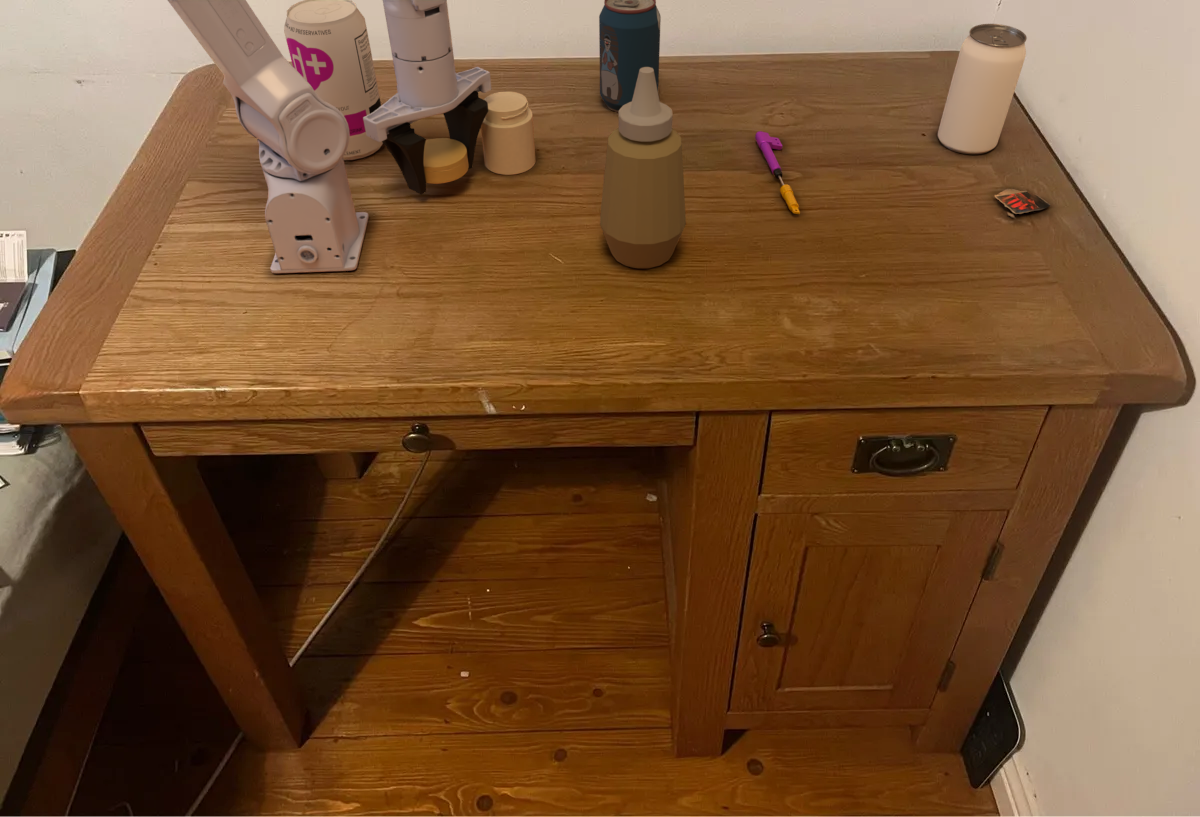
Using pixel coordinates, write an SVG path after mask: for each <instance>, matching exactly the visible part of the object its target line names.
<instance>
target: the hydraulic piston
mask: <svg viewBox="0 0 1200 817" xmlns="http://www.w3.org/2000/svg"><path fill="white" fill-rule="evenodd" d="M754 139H755V141H756V143H757V145H758V147H759V150H761V152H762V154H763V156H764V158H765V161H766V162H767V165H768V167H769V169H770V171H771V173H772V175H773V176H774V178H775V179H776V180H779V182H780V184H781V186H780V188H779V192H780V194H781V196H782V198H783V200H784V201H785V203H786V205H787V207H788V209H789V211H790V212H792V214H795V215H800V214H801V211H800V209H799V208H800V206H799V203H798V202H797V199H796V197H795V194H794V190H793V188H792V187H791V185H789V184H787V183H784V181H783V179H782V178H783V171H782V168H781V165H780V163H779V161H778V159H777V157H776V155H775V153H774V152H773V149H774V150H779V151H782V149H783V144H782V141H781V140H780V138H779V137H775V136H770V134H769V132H766V131H762V130H759V131H757V132H756V133H755V137H754Z"/></svg>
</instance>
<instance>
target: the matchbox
mask: <svg viewBox="0 0 1200 817" xmlns="http://www.w3.org/2000/svg"><path fill="white" fill-rule="evenodd" d="M993 196H994V197H995V199H997V200H999V202H1000V203H1002V204H1003V205H1004V207H1005V208H1008V209H1009V210H1010V211H1011V212H1012V213H1010V212H1009V211H1007V212H1006V213H1007V216H1008V217H1009V216H1010V217H1011V218H1013V219H1015V220H1017V217H1015V215H1017V214H1019V215H1022V214H1024V213H1029V212H1034V211H1042V210H1044V209H1046V208H1049V207H1050V206H1051V204H1050V203H1049V202H1047V200H1045V199H1044V198H1043V197H1042V196H1039V195H1038V194H1034V193H1032V192H1030V191H1028V190H1021V191H1020V190H1018V189H1015V188H1006V189H1004V190H1002V191H1000V192H998V194H994V195H993ZM1014 214H1015V215H1014Z"/></svg>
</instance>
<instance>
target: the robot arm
mask: <svg viewBox="0 0 1200 817" xmlns="http://www.w3.org/2000/svg"><path fill="white" fill-rule="evenodd" d="M167 2H168V3H169V4H170V6H171V7H172V8H173V10H174V11H175V13H176V14H177V16H179V18H180V19H181V21H182V22H183V23H184V24H185V26H186V27H187V28H188V30H189V31H190V32H191V34H192V35H193V36H194V38H195V39H196V40H197V42H198V43H199V45H200V46H201V47H202V49H203V50H204V51H205V52H206V54H207V55H208V57H209V58H210V59H211V61H213V63H214V64H215V66H216V67H217V68H218V70H219V71H220V73H221V74H222V76H223V81H222V84H223V86H224V88H225V89H226V90H227V91H228V92H229V94H230V96H231V97H232V100H233V102H234V108H235V113H236V115H235V116H236V119H237V120H238V122H239V125H240V126H241V127H242V128H243V130H244V131H246V133H248V134H249V135H251V136H252V137H254V138H255V139H256V140H257V144H258V156H259V163H260V166H261V170H262V174H263V176H264V179H265V184H266V186H267V193H268V195H267V200H266V204H265V207H264V220H265V223H266V226H267V230H268V233H269V236H270V239H271V242H272V245H273V249H274V252H275V253H274V256H273V259H272V261H271V264H270V268H269V269H270V272H271V273H273V274H295V273H298V274H299V273H321V272H323V273H324V272H346V271H347V272H348V271H355V270H356V269H357V268H358V264H359V260H360V255H361V252H362V247H363V243H364V239H365V235H366V231H367V226H368V222H369V217H370V216H369V213H368V212H366V211H359V212H358V211H356V208H355V204H354V200H353V196H352V195H353V194H352V191H351V187H350V182H349V177H348V174H347V169H346V164H345V160H343V156H344V154H345V152H346V150H347V148H348V144H349V137H350V134H349V127H348V123H347V121H346V119H345V117H344V115H343V114H342V113H341V112H340V111H339V110H338V109H337V108H336V107H334V106H332V105H331V104H329V103H327V102H325V101H323V100H322V99H321V98H320V97H319V96H318V95H317V94H316V93H315V91H314V90H313V88H312V86H311V85H310V84H309V83H308V82H307V81H306V80H305V79H304V78H303V77H302V76H301V74H300V73H299V72H298V71H297V70H296V69H295V68H294V67H293V65H292V63H290V62H289V60H288V59H287V58H286V57H285V56H284V55H283V54H282V52H281V50H280V49H279V47H278V46H277V45H276V43H275V41H274V40H273V38H272V37H271V36H270V34H269V33H268V31H267V30H266V28H265V27H264V26H263V24H262V22H261V21H260V19H259V18H258V16H257V14H256V13H255V11H254V10H253V9H252V7H251V6H250V4H249V3H248V1H247V0H167ZM382 5H383V11H384V17H385V23H386V30H387V34H388V39H389V46H390V51H391V57H392V64H393V70H394V75H395V80H396V93H395V94H394V95H393V96H391V97H390V98H389V99H388V100H386V101H385V102H384V103H383V104H381V106H380V107H379V108H378V109H377V110H375V111H374V112H372V113H371V114H369V115H367V116H365V117H363V120H364V125H365V130H366V135H367V136H368V137H370V138H372V139H373V140H376V141H378V142H381V141H382V143H383V144H382V145H383V146H384V147H385V148H386V149H387V151H388V152H389V153H390V155H391V156H392V158H393V159H394V161H395V163H396V164H397V166H398V167H399V170H400V172H401V174H402V176H403V178H404V180H405V183H406V185H407V187H408V189H409V190H411V191H412V192H414V193H416V194H418V195H424V194H425V193H427V183H426V179H425V172H424V147H425V142H426V140H427V138H426V137H424V136H421V135H420V134H417V133H416V131H415V128H414V127H413V128H412V125H411V124H413V123H415V122H417V121H419V120H422V119H426V118H429V117H434V116H437V115H442V114H443V117H444V121H445V123H446V128H447V130H448V136H449V139H454V140H457V141H459V142H461V143H462V144H464V145H465V147H466V149H467V157H468V164H469V168H468V171H469V170H471V169H473V166H474V159H475V158H474V157H475V152H476V147H477V141H478V137H479V134H480V132H481V125H482V123H483V121H484V118H485V117H486V115H487V113H488V103H487V101H485V100H484V99H483V98H481V97H479V92H481V93H483V94H485V93H488V92H490V91H492V90H493V88H492V80H491V72H490V71H489V70H486V69H484V68H481V67H479V66H475V67H473V68H469V69H467V70H462V71H459V72H456V64H455V57H454V56H455V55H454V48H453V47H454V46H453V40H452V30H451V24H450V23H451V22H450V16H449V7H448V1H447V0H382Z"/></svg>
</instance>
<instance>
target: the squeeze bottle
mask: <svg viewBox="0 0 1200 817" xmlns="http://www.w3.org/2000/svg"><path fill="white" fill-rule="evenodd" d="M673 115H674V114H673V110H672V108H671V107H670V106H669V105H668V104H666V103H663V102H661V101H660V96H659V90H658V91H657V85H656V80H655V74H654V69H653V68H651V67H643V68H641V69H640V70H639V74H638V78H637V82H636V87H635V91H634V95H633V99H632V102H629V103H627V104H625V105H623V106H622V107H621V108H620V110H619V113H618V127H616V128H615V129H614V130H612V132H611V133H610V134H609V136H608V137H607V145H606V154H605V166H604V174H603V184H602V193H601V203H600V204H601V205H600V212H599V213H600V214H599V225H600V228H601V231H602V233H603V235H604V238H605V240H606V243H607V246H608V248H609V251H610V253H611V255H612V256H613V258H614V259H615V261H617V262H618V263H620V264H621V265H623V266H625V267H630V268H633V269H651V268H656V267H659V266H662V265H663V264H665V263H666V262H668V261H669V260H670V258H671V257H672V255H673V254H674V251H675V249H676V247H677V245H678V243H679V240H680V238H681V236H682V234H683V232H684V229H685V227H686V225H687V219H686V200H685V198H686V197H685V178H684V161H683V160H684V159H683V157H684V156H683V141H682V135H680V134H679V133H678V132H677V130H676V129H674V128H673V117H674V116H673Z"/></svg>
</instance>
